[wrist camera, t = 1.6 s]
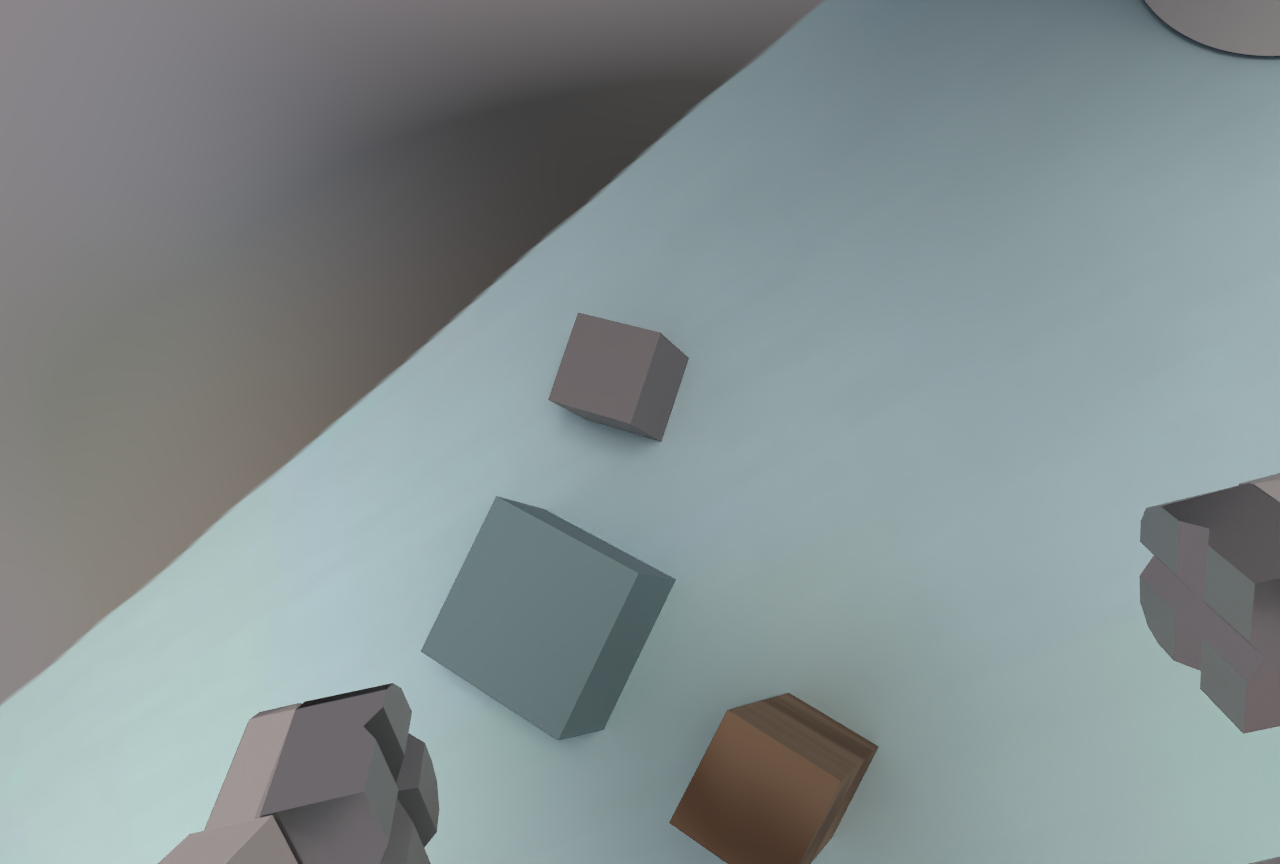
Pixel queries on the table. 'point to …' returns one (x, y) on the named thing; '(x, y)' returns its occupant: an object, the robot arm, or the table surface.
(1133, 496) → the table surface
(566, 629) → the teal base block
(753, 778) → the walnut block
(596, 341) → the charcoal cube
